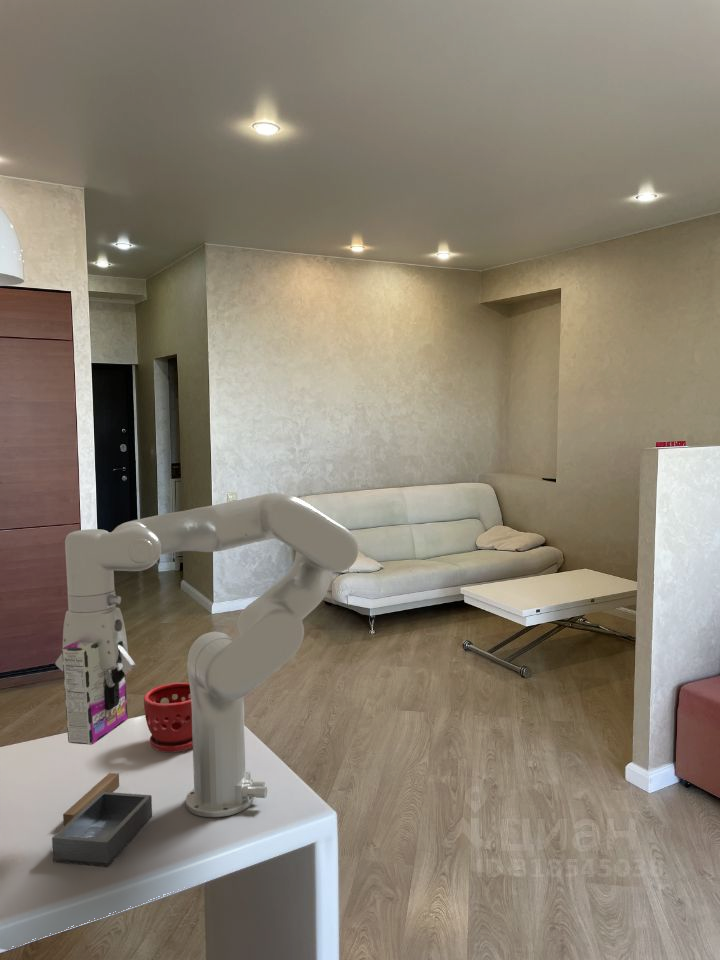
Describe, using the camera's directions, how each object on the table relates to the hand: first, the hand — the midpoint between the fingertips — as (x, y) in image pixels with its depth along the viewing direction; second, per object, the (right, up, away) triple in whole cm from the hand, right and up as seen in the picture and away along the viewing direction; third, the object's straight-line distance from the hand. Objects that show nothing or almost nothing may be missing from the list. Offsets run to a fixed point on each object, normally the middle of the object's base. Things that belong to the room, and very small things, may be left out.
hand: (97, 705), depth 128 cm
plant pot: (+5, -20, +37) cm, 42 cm away
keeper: (+2, -22, -1) cm, 22 cm away
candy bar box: (0, -5, 0) cm, 5 cm away
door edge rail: (-4, -22, +10) cm, 24 cm away
